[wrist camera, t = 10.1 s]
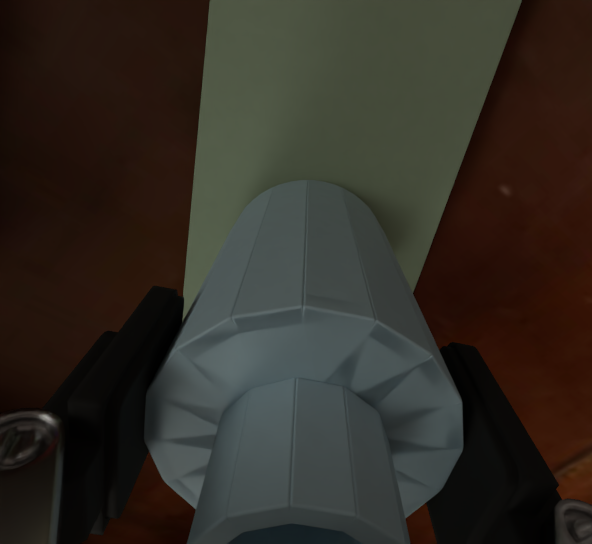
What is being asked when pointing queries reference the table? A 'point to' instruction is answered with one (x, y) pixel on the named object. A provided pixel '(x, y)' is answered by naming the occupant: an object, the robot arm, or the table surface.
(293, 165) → the mat
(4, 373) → the table surface
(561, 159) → the table surface
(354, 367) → the bottle
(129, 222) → the table surface
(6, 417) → the robot arm
